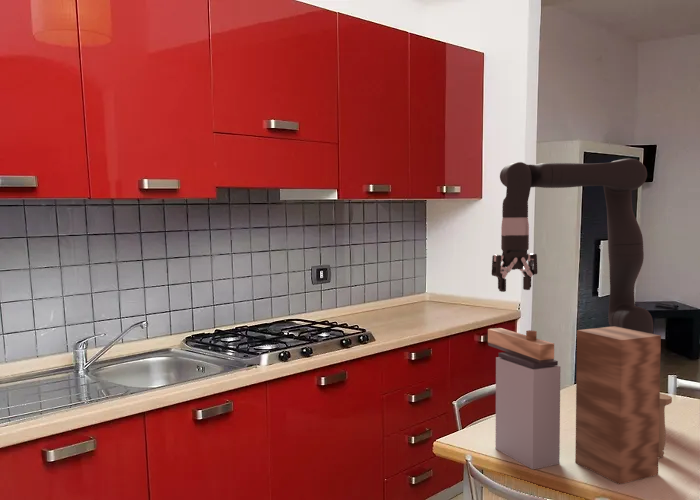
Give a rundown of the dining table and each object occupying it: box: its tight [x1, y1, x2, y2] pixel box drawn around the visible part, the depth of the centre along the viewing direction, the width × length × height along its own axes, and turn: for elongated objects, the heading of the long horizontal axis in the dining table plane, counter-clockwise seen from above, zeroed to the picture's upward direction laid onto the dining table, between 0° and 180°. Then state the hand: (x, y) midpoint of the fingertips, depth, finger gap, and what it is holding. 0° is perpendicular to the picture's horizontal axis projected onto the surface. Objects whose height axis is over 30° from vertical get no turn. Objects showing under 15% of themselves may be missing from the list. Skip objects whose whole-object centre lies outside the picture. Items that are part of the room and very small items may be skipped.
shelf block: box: [574, 326, 662, 485], centre depth 139 cm, size 12×13×32 cm
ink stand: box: [495, 351, 561, 470], centre depth 147 cm, size 8×14×25 cm, turn 23°
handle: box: [659, 393, 673, 459], centre depth 146 cm, size 5×6×15 cm
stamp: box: [487, 327, 555, 363], centre depth 150 cm, size 4×22×6 cm, turn 20°
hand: (514, 290), depth 170 cm, fingers open, 8 cm apart
